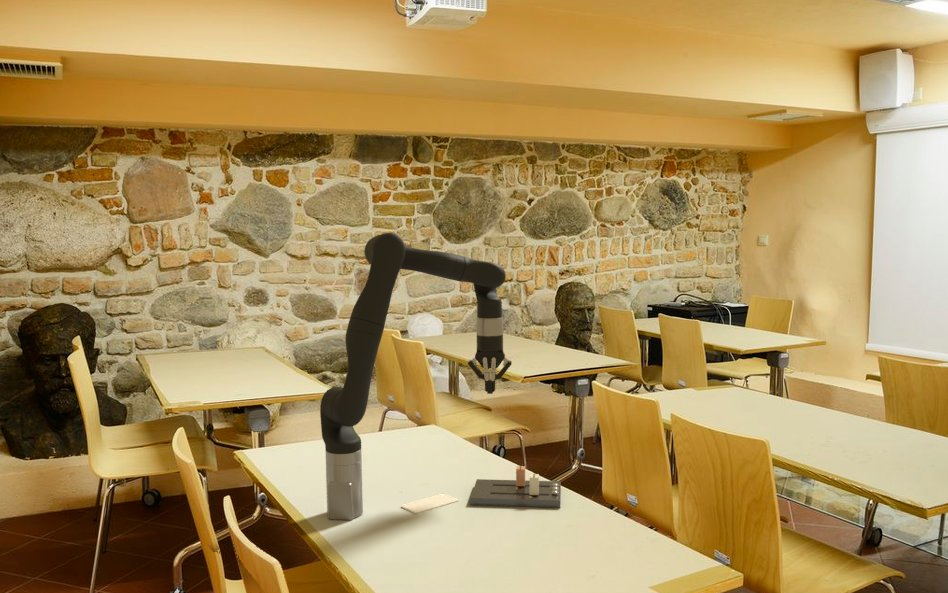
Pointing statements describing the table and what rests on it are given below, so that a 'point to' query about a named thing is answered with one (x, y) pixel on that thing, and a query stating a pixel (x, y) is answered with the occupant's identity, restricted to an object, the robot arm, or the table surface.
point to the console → (515, 494)
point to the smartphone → (429, 503)
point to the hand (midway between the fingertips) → (490, 393)
